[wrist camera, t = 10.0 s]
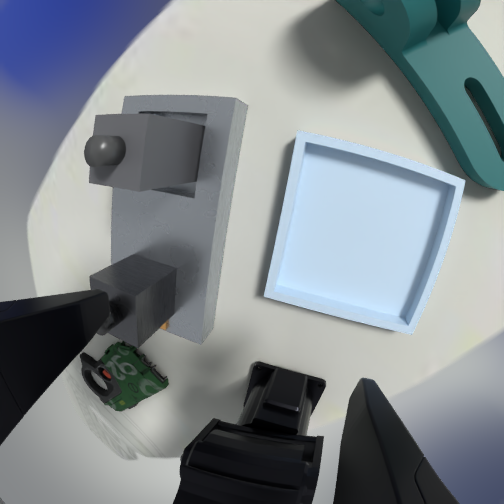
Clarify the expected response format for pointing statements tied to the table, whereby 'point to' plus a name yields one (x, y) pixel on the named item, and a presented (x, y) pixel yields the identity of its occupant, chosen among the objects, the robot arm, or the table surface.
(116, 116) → the plug
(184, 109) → the grey socket base
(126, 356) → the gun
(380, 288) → the tray
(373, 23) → the bracket
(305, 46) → the table surface
